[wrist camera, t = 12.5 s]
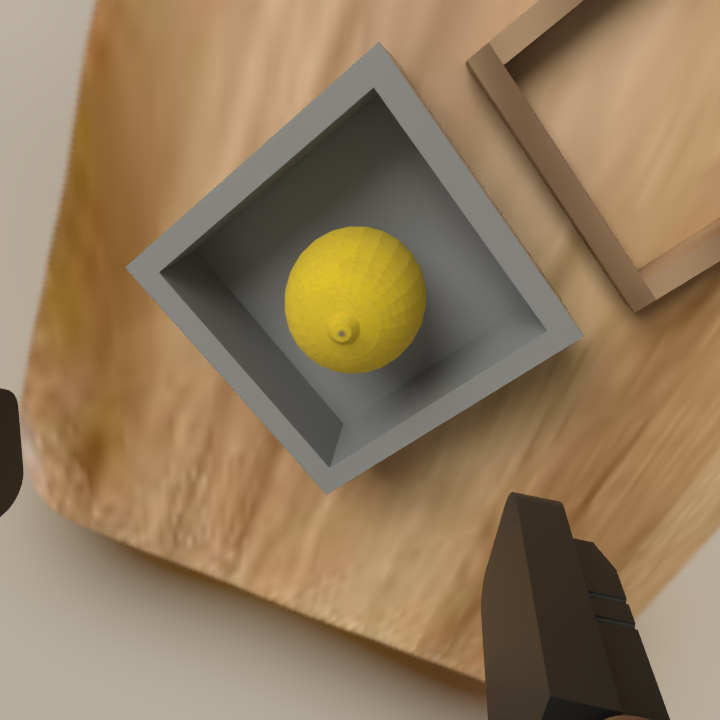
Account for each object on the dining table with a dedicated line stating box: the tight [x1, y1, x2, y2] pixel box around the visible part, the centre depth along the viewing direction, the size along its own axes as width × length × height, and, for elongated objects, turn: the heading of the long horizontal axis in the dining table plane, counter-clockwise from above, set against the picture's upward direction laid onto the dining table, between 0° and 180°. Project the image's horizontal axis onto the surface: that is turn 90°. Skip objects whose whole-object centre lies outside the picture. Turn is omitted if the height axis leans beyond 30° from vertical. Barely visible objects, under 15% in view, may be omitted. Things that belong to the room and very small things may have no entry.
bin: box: [125, 42, 584, 495], centre depth 27 cm, size 13×13×5 cm
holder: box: [466, 0, 720, 313], centre depth 24 cm, size 13×13×2 cm
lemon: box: [285, 226, 426, 374], centre depth 25 cm, size 6×6×8 cm
